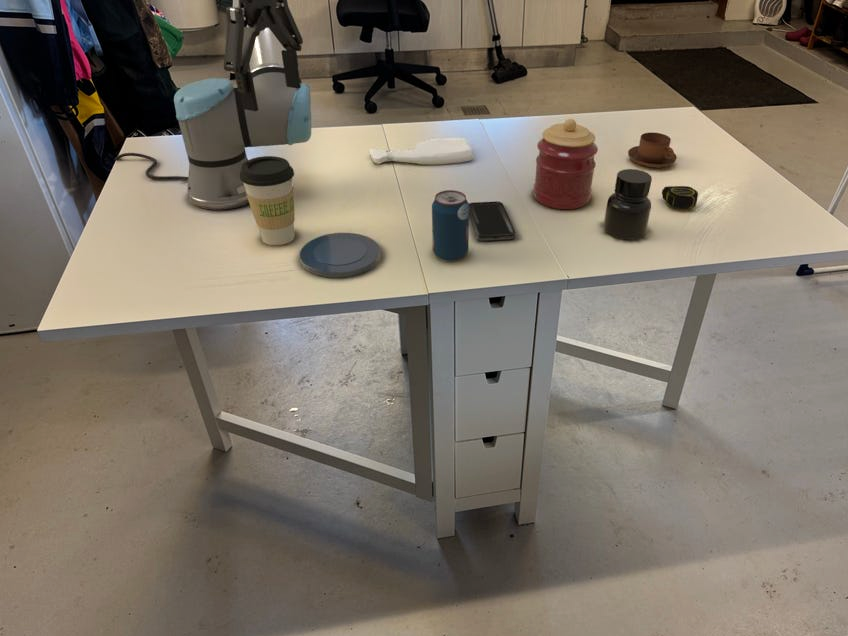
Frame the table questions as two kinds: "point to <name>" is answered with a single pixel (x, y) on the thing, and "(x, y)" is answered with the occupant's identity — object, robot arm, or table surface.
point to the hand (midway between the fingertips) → (273, 98)
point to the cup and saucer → (653, 151)
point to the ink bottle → (629, 205)
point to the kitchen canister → (565, 166)
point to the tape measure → (680, 196)
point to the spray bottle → (429, 152)
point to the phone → (490, 221)
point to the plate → (340, 255)
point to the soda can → (450, 225)
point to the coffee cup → (270, 197)
